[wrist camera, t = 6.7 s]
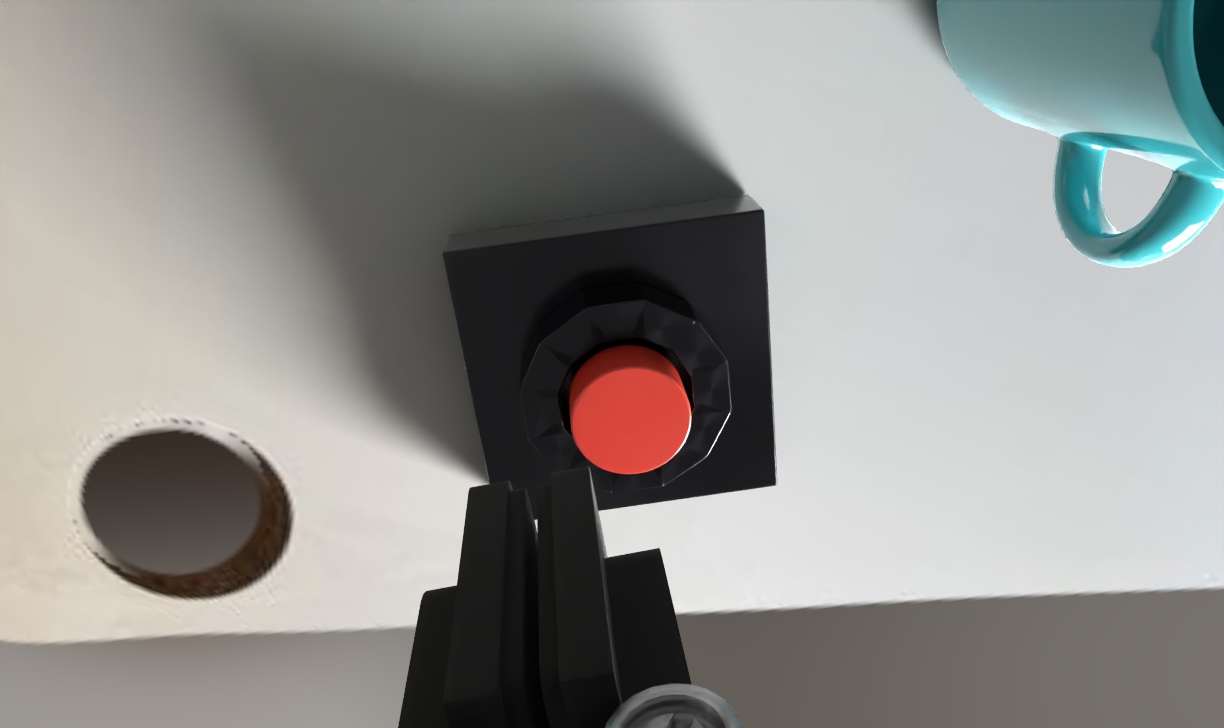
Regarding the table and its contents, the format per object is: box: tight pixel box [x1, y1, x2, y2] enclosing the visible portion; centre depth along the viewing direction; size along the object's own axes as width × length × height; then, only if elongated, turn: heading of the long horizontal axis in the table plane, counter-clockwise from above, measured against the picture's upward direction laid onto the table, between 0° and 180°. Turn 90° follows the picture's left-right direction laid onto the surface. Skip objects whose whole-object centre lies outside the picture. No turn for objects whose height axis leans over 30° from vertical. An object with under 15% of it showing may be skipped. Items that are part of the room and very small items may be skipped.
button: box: [569, 345, 691, 474], centre depth 26 cm, size 4×4×2 cm
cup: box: [937, 0, 1224, 268], centre depth 22 cm, size 9×12×11 cm
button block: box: [443, 195, 777, 520], centre depth 29 cm, size 10×10×4 cm
